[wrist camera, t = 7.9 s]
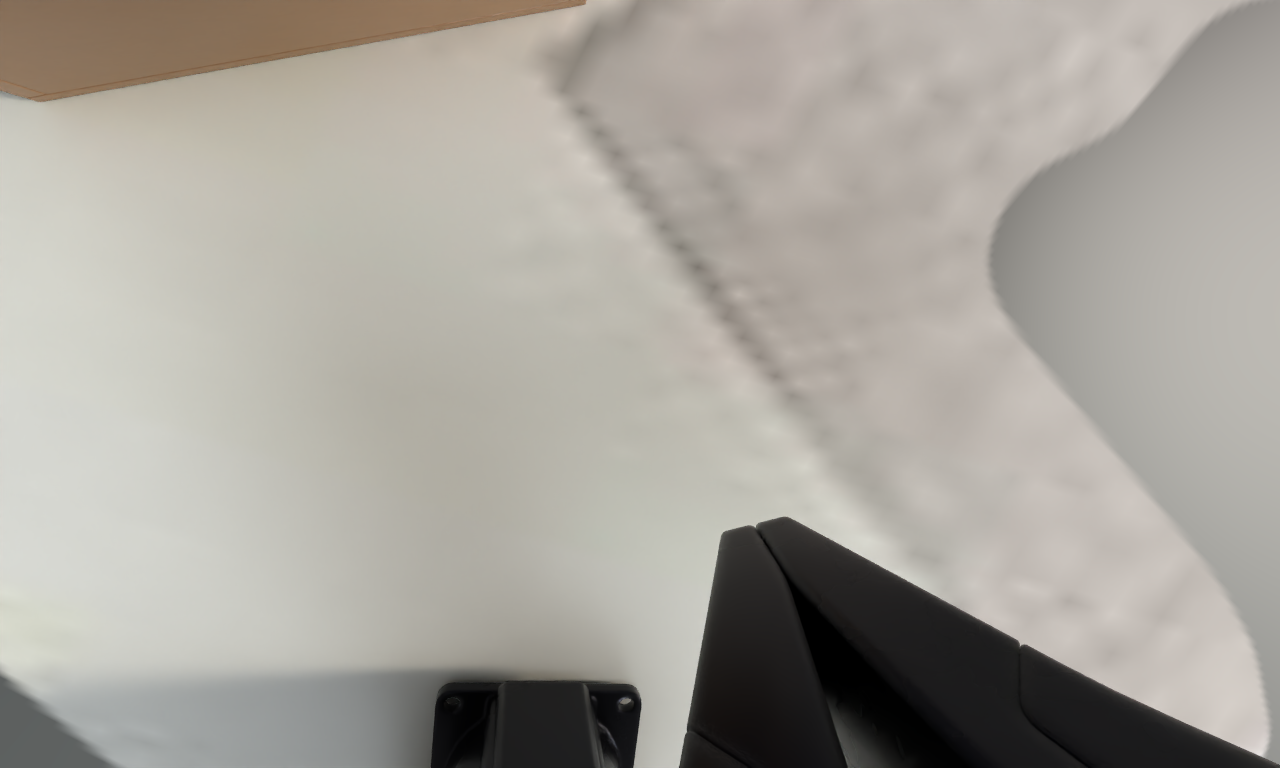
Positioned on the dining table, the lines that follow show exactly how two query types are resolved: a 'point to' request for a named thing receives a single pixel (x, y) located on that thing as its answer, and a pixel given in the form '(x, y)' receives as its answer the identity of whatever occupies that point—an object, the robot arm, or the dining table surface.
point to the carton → (204, 35)
